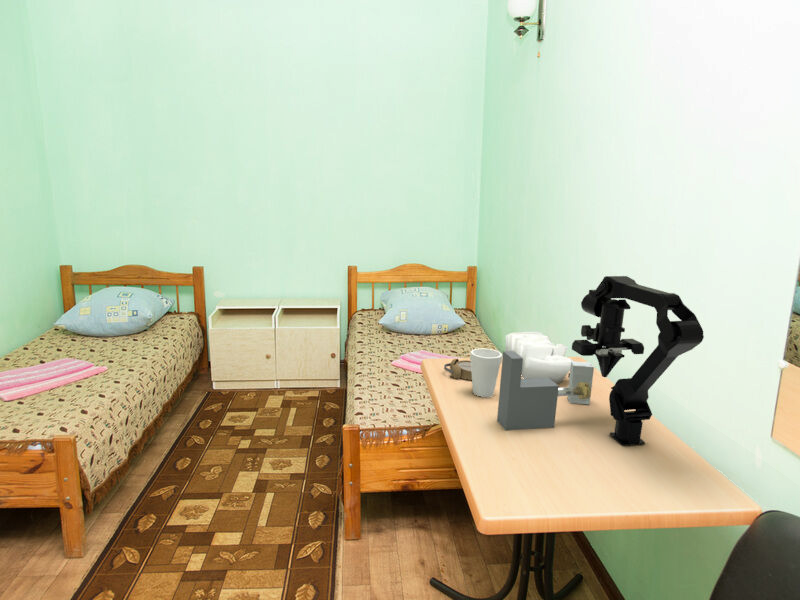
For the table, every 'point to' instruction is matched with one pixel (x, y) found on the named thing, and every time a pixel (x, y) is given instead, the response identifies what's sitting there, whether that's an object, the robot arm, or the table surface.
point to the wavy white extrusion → (539, 355)
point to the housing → (525, 397)
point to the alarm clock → (460, 369)
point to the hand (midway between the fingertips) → (604, 376)
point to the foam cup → (484, 371)
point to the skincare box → (580, 379)
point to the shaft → (576, 391)
